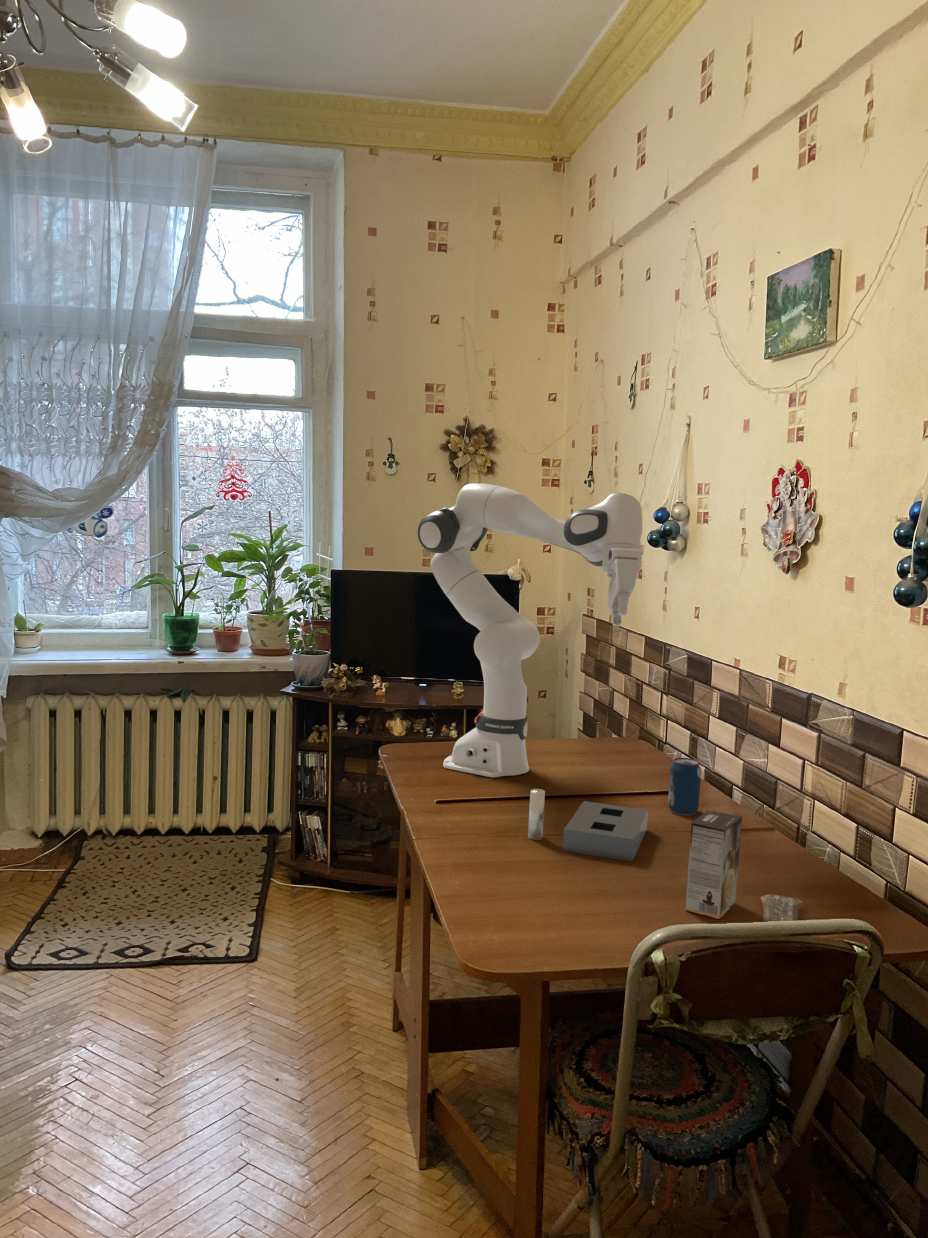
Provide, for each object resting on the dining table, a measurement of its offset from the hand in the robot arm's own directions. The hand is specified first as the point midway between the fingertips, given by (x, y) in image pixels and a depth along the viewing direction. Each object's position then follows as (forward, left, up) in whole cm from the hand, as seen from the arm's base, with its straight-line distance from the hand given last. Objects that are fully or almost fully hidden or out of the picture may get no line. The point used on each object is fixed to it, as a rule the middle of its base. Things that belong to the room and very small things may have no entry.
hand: (619, 620), depth 213 cm
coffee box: (+26, -47, -44) cm, 70 cm away
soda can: (+16, +6, -44) cm, 47 cm away
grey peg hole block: (+3, -21, -44) cm, 49 cm away
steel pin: (-11, -26, -44) cm, 52 cm away
